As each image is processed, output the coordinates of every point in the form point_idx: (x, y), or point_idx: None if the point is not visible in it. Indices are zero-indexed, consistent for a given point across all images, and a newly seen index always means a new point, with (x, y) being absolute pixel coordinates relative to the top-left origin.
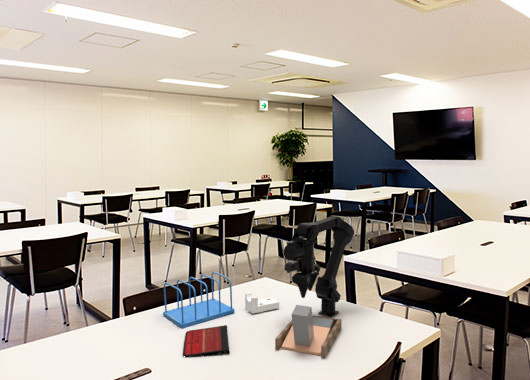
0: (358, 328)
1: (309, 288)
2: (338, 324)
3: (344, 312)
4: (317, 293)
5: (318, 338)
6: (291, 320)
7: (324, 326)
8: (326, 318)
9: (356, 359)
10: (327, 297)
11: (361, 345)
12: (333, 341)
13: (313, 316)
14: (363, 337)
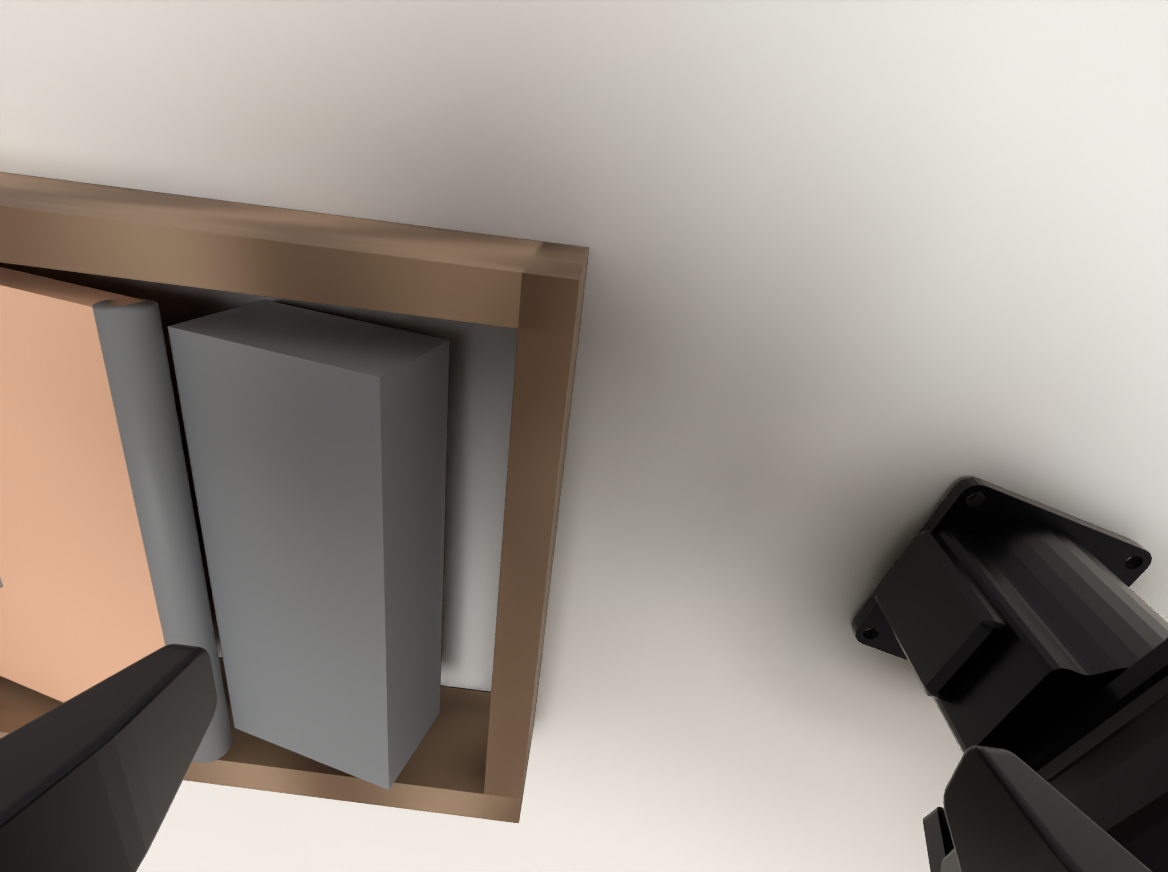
0: (601, 830)
1: (995, 833)
2: (371, 800)
3: None
4: (1156, 733)
5: (5, 625)
6: (208, 233)
7: None
8: (491, 694)
9: None
10: (951, 855)
11: (276, 842)
12: None
13: (510, 543)
14: (427, 855)
